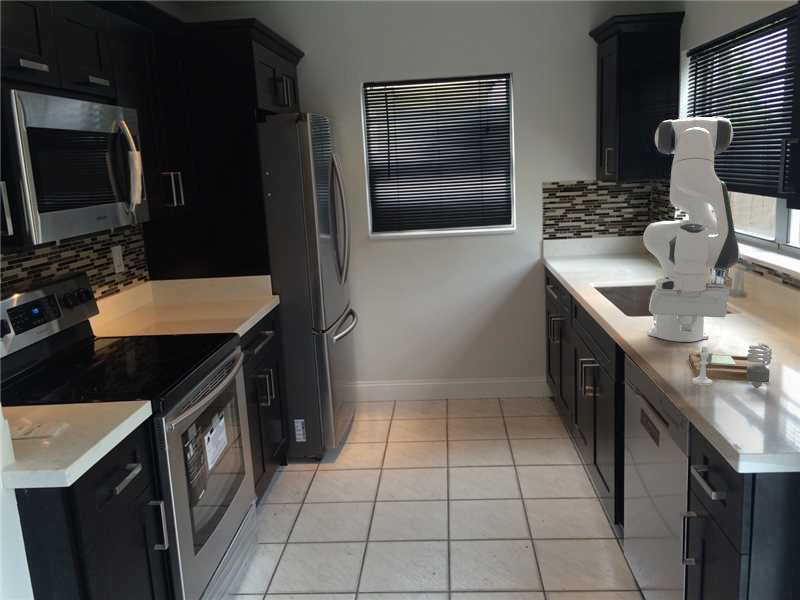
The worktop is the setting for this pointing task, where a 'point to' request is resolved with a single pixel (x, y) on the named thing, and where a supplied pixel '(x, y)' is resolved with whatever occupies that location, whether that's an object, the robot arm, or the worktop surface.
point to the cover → (718, 358)
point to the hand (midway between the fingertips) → (685, 331)
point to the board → (723, 368)
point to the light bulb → (759, 371)
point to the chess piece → (703, 371)
